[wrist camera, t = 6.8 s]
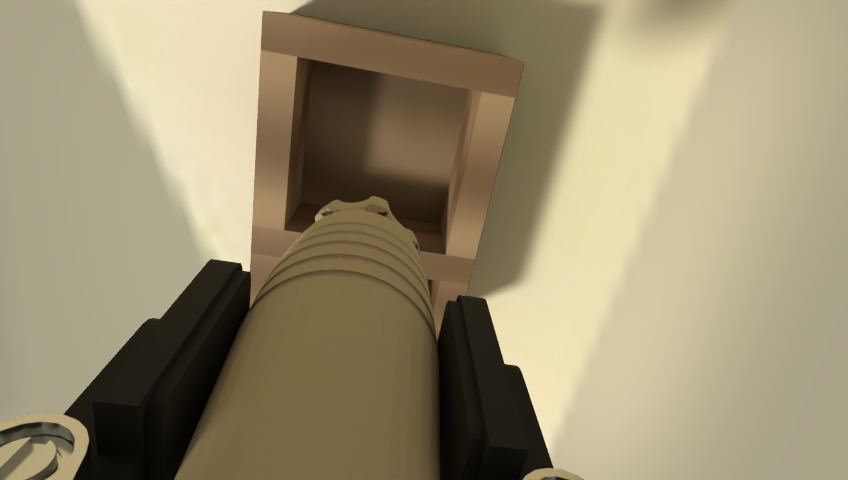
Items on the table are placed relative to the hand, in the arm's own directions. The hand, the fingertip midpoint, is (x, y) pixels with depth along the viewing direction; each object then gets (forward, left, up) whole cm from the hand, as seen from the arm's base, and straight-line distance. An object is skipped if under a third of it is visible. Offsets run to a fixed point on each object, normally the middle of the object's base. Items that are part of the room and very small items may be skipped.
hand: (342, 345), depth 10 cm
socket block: (+2, 0, -19) cm, 19 cm away
